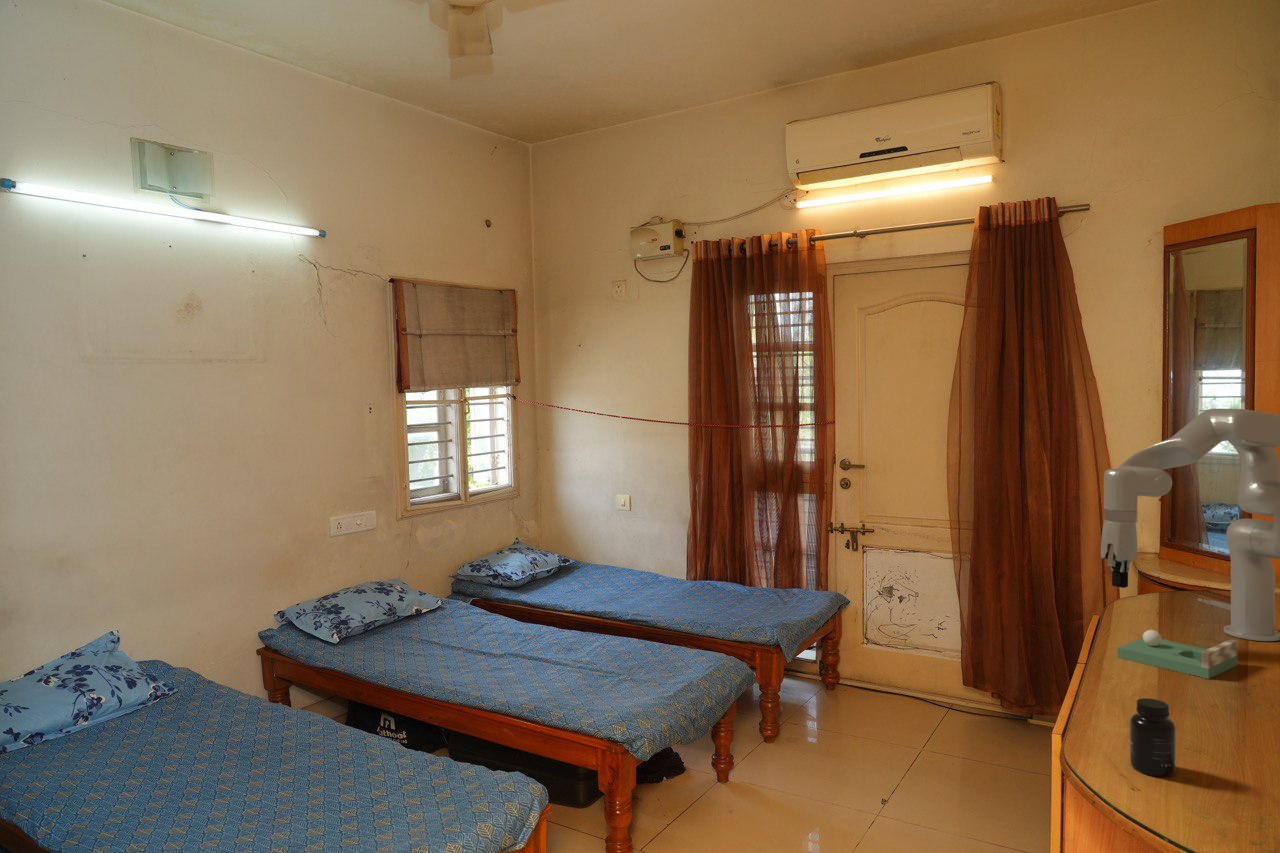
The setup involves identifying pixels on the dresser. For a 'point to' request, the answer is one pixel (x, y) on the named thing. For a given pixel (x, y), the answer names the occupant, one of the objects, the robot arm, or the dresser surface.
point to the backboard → (1218, 653)
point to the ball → (1152, 638)
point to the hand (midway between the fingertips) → (1119, 586)
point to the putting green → (1173, 657)
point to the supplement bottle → (1152, 739)
